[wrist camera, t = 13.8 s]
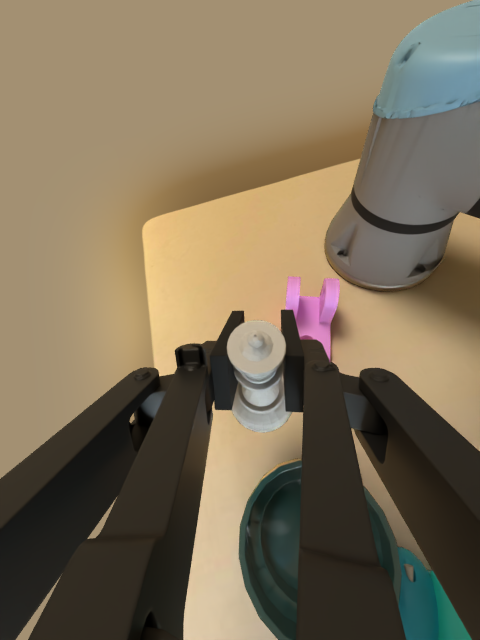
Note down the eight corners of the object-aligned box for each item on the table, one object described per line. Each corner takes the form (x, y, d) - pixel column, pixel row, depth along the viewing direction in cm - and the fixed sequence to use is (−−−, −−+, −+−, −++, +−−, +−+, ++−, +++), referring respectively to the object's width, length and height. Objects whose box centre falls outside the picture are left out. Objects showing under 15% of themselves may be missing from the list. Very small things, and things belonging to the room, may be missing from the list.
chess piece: (306, 397, 18) (342, 330, 9) (264, 448, 17) (259, 427, 8) (259, 356, 20) (251, 269, 11) (217, 400, 18) (171, 339, 10)
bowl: (268, 440, 29) (266, 439, 24) (385, 488, 26) (409, 497, 21) (228, 572, 24) (216, 603, 20) (363, 649, 21) (388, 710, 16)
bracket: (287, 300, 36) (288, 270, 30) (328, 303, 35) (339, 272, 29) (278, 395, 31) (278, 382, 25) (327, 401, 30) (340, 389, 24)
